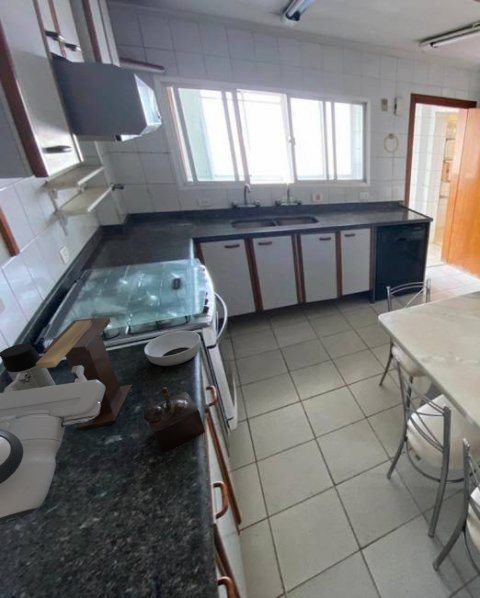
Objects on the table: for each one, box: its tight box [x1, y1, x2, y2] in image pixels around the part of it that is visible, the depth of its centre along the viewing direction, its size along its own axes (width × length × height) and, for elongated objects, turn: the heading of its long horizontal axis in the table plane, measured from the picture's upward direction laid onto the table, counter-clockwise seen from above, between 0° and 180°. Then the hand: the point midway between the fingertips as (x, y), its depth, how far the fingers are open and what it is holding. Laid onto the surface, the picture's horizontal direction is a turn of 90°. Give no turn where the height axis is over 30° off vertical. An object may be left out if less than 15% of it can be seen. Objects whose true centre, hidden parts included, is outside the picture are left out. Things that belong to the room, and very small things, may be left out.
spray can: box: [0, 342, 57, 390], centre depth 92 cm, size 7×7×20 cm
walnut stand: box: [42, 316, 133, 431], centre depth 92 cm, size 8×16×26 cm, turn 22°
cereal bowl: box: [143, 330, 202, 367], centre depth 119 cm, size 17×17×7 cm
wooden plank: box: [36, 320, 92, 369], centre depth 81 cm, size 3×20×2 cm, turn 22°
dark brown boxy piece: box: [143, 386, 206, 455], centre depth 84 cm, size 16×11×18 cm
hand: (52, 370), depth 75 cm, fingers open, 8 cm apart
